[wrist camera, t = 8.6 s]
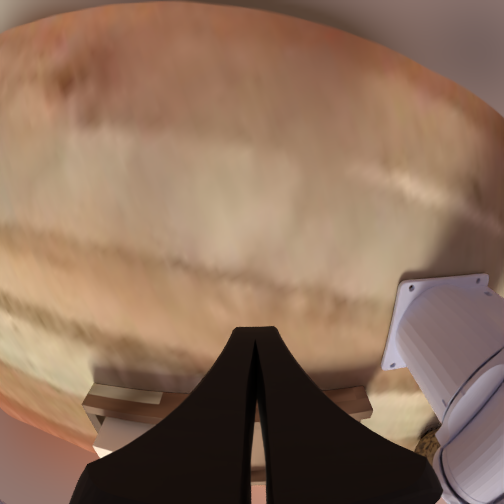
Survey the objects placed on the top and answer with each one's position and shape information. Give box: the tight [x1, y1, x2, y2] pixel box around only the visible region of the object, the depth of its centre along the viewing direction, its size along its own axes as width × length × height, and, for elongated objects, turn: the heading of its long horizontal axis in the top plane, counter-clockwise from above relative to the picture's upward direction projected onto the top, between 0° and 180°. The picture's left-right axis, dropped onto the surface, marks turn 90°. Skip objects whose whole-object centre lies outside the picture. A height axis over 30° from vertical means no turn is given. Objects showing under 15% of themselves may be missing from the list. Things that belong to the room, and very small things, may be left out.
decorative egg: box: [414, 428, 441, 467], centre depth 21 cm, size 7×7×10 cm
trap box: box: [82, 383, 373, 486], centre depth 23 cm, size 24×12×3 cm, turn 92°
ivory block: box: [93, 417, 155, 458], centre depth 20 cm, size 6×6×4 cm
